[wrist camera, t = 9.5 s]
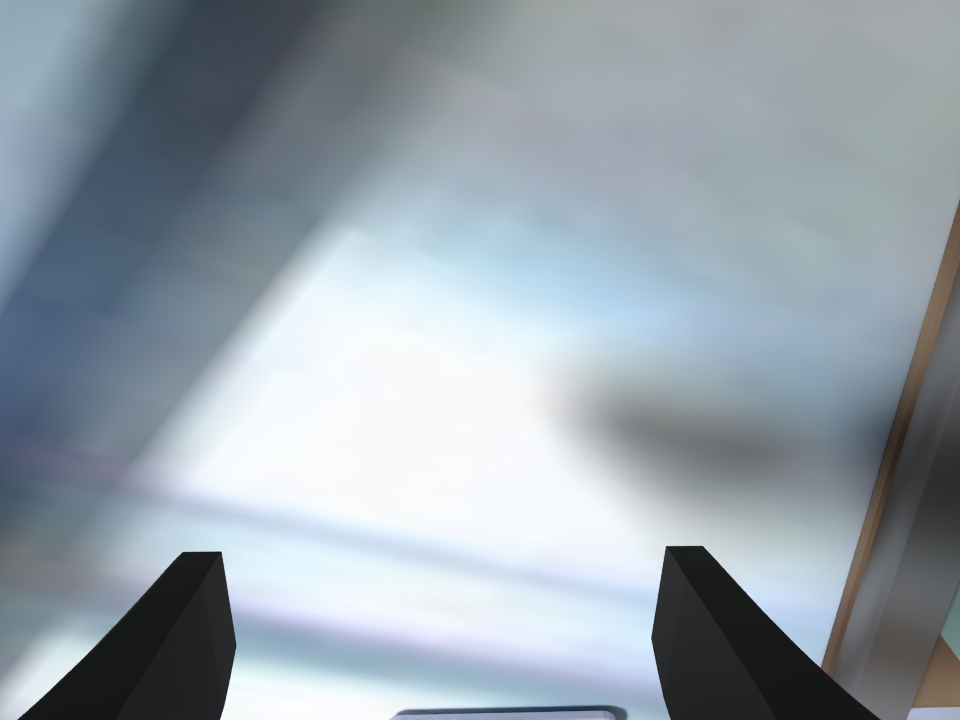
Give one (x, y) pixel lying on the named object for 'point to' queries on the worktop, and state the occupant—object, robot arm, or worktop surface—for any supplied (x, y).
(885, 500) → the track
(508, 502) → the worktop surface
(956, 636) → the green block
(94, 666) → the robot arm
